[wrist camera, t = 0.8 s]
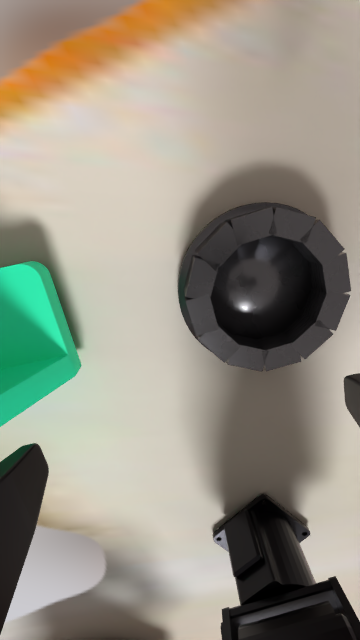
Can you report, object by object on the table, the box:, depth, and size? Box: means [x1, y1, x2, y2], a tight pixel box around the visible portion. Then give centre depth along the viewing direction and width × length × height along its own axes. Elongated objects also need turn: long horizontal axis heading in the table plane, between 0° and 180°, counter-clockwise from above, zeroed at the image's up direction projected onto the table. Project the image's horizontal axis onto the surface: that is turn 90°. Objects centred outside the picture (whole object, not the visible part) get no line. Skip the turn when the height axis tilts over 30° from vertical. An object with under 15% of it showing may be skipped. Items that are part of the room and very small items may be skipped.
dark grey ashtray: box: [178, 203, 351, 371], centre depth 20 cm, size 11×11×3 cm
